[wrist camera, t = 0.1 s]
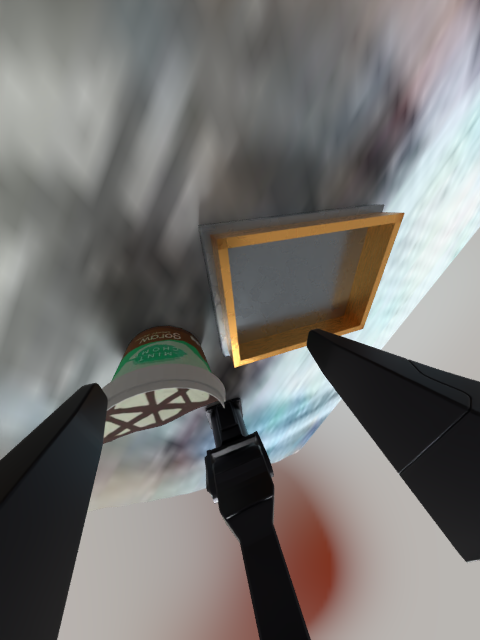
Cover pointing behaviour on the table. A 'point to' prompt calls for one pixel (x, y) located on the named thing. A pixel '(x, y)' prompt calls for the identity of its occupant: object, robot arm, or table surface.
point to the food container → (159, 382)
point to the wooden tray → (294, 276)
